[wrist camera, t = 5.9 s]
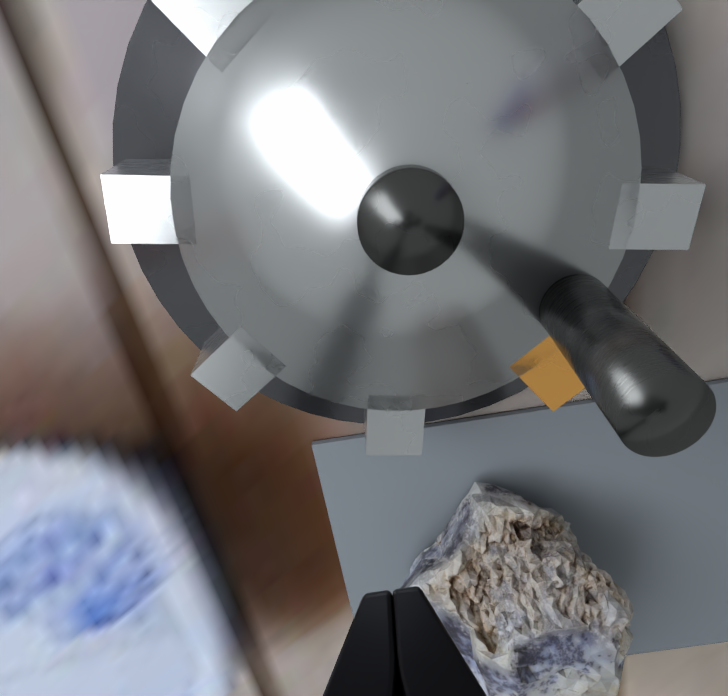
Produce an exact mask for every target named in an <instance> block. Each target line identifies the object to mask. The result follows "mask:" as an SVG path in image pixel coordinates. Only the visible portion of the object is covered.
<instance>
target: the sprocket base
mask: <svg viewBox="0 0 728 696" xmlns="http://www.w3.org/2000/svg"><path fill="white" fill-rule="evenodd" d="M205 58H206V56H205V55H204V54H203V53H202V52H201V51H200V50H199V49H198V48H197V47H196V46H195V45H194V44H193V43H192V42H191V41H190V40H189V39H188V38H187V37H186V36H185V35H184V34H183V33H182V32H181V31H180V30H179V28H178V27H177V26H176V25H175V24H174V23H173V22H172V21H171V20H170V19H169V18H168V17H167V16H166V15H165V14H164V13H163V12H162V11H161V10H160V9H159V8H158V7H157V6H156V5H155V4H154V3H153V2H152V1H151V0H147V2H146V4H145V6H144V8H143V11H142V13H141V15H140V18H139V20H138V23H137V25H136V27H135V30H134V32H133V35H132V37H131V39H130V42H129V44H128V48H127V52H126V55H125V59H124V63H123V67H122V71H121V74H120V78H119V82H118V87H117V95H116V104H115V112H114V120H113V166H116V165H117V164H119V163H121V162H122V161H124V160H126V159H172V152H173V145H174V138H175V132H176V129H177V125H178V122H179V118H180V115H181V111H182V107H183V104H184V101H185V99H186V96H187V94H188V92H189V89H190V87H191V85H192V83H193V80H194V78H195V76H196V73H197V71H198V69H199V68H200V66H201V64H202V63H203V61H204V60H205ZM619 67H620V69H621V71H622V73H623V75H624V77H625V80H626V83H627V86H628V89H629V92H630V95H631V98H632V101H633V104H634V108H635V113H636V119H637V124H638V129H639V134H640V147H641V167H650V168H668V169H671V170H673V171H675V172H677V165H678V158H679V150H680V107H681V106H680V98H679V90H678V82H677V74H676V66H675V63H674V59H673V55H672V51H671V48H670V44H669V40H668V37H667V33H666V29H665V26H664V27H663V28H662V29H661V30H659V31H658V32H657V33H656V34H655V35H654V36H653V37H652V38H651V39H649V40H648V41H647V42H646V43H645V44H644V45H643V46H642V47H641V48H639V49H638V50H637V51H636V52H635V53H634V54H633V55H632V56H631V57H629V58H628V59H627V60H626V61H625V62H624V63H623V64H622V65H621V66H619ZM357 229H358V236H359V240H360V243H361V245H362V247H363V249H364V251H365V253H366V254H367V255H368V257H369V258H370V259H371V260H372V261H373V262H374V263H375V264H377V265H378V266H379V267H381V268H383V269H384V270H386V271H389V272H391V273H395V274H399V275H418V274H423V273H426V272H429V271H431V270H433V269H435V268H437V267H439V266H440V265H442V264H443V263H444V262H445V261H446V260H448V259H449V257H450V256H451V255H452V254H453V253H454V251H455V250H456V248H457V247H458V245H459V243H460V240H461V238H462V234H463V230H464V210H463V206H462V203H461V201H460V198H459V196H458V195H457V193H456V192H455V190H454V189H453V187H452V186H451V184H450V183H449V182H448V181H447V180H446V179H445V178H444V177H443V176H442V175H441V174H439V173H438V172H436V171H434V170H432V169H430V168H428V167H424V166H420V165H400V166H396V167H393V168H390V169H388V170H386V171H384V172H382V173H381V174H379V175H378V176H377V177H376V178H374V179H373V180H372V181H371V182H370V184H369V185H368V186H367V187H366V189H365V190H364V192H363V194H362V196H361V198H360V201H359V204H358V209H357ZM131 245H132V247H133V250H134V252H135V255H136V257H137V259H138V262H139V264H140V267H141V269H142V271H143V273H144V275H145V276H146V278H147V280H148V282H149V283H150V285H151V287H152V289H153V290H154V292H155V294H156V296H157V297H158V299H159V301H160V302H161V304H162V305H163V306H164V308H165V309H166V310H167V312H168V313H169V314H170V316H171V317H172V318H173V320H174V321H175V322H176V324H177V325H178V326H179V328H180V329H181V330H182V331H183V332H184V333H185V334H186V335H187V336H188V337H189V338H190V339H191V340H192V341H193V342H194V344H195V345H196V346H197V347H198V348H199V349H200V350H201V349H202V347H203V345H204V342H205V341H206V340H207V339H208V338H209V337H210V336H211V335H212V334H213V333H214V332H215V331H216V330H217V329H218V328H219V327H220V326H219V325H218V323H217V322H216V321H215V319H214V318H213V317H212V315H211V314H210V313H209V311H208V310H207V308H206V306H205V305H204V303H203V301H202V299H201V298H200V296H199V294H198V292H197V291H196V289H195V287H194V285H193V283H192V281H191V278H190V276H189V273H188V271H187V269H186V266H185V264H184V261H183V259H182V256H181V252H180V248H179V244H131ZM652 252H653V250H637V249H626V251H625V254H624V256H623V259H622V261H621V263H620V265H619V267H618V269H617V271H616V273H615V275H614V277H613V279H612V282H611V284H610V285H609V287H608V289H609V290H610V291H611V292H612V293H613V294H614V295H615V296H616V297H617V298H618V299H620V300H621V301H622V302H623V301H624V299H625V298H626V296H627V295H628V293H629V292H630V291H631V289H632V288H633V286H634V285H635V283H636V282H637V280H638V278H639V276H640V274H641V272H642V271H643V269H644V267H645V265H646V263H647V261H648V259H649V257H650V256H651V254H652ZM527 387H528V386H527V385H526V384H525V382H524V381H523V380H522V379H521V378H520V377H518V378H517V379H515V380H513V381H512V382H509V383H507V384H505V385H503V386H501V387H499V388H497V389H495V390H493V391H491V392H489V393H486V394H483V395H480V396H477V397H475V398H472V399H469V400H466V401H463V402H459V403H454V404H450V405H446V406H442V407H437V408H429V409H425V420H424V422H430V421H435V420H439V419H444V418H449V417H454V416H459V415H462V414H465V413H468V412H471V411H474V410H478V409H481V408H484V407H487V406H490V405H492V404H494V403H496V402H499V401H501V400H503V399H505V398H508V397H510V396H512V395H514V394H516V393H518V392H520V391H522V390H524V389H525V388H527ZM258 392H260V393H262V394H264V395H266V396H268V397H270V398H272V399H274V400H276V401H278V402H280V403H283V404H286V405H288V406H291V407H294V408H297V409H299V410H302V411H305V412H308V413H311V414H315V415H319V416H323V417H328V418H332V419H336V420H341V421H349V422H357V423H364V408H357V407H353V406H348V405H343V404H339V403H334V402H332V401H329V400H326V399H323V398H320V397H317V396H314V395H311V394H309V393H307V392H304V391H302V390H300V389H298V388H296V387H294V386H292V385H290V384H288V383H286V382H284V381H283V380H281V379H279V378H278V377H276V376H275V377H274V378H273V379H272V380H271V381H269V382H268V383H267V384H266V385H265V386H264V387H263V388H262V389H261V390H259V391H258Z"/></svg>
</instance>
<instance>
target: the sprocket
mask: <svg viewBox="0 0 728 696" xmlns="http://www.w3.org/2000/svg"><path fill="white" fill-rule="evenodd" d="M151 1H152V2H153V3H154V4H155V5H156V6H157V7H158V8H159V9H160V10H161V11H162V12H163V13H164V14H165V15H166V16H167V17H168V18H169V19H170V20H171V21H172V22H173V23H174V24H175V25H176V26H177V27H178V28H179V30H180V31H181V32H182V33H183V34H184V35H185V36H186V37H187V38H188V39H189V40H190V41H191V42H192V43H193V44H194V45H195V46H196V47H197V48H198V49H199V50H200V51H201V52H202V53H203V54H204V55H205V56H206V58H205V60H204V61H203V63H202V64H201V66H200V68H199V69H198V71H197V73H196V76H195V78H194V80H193V83H192V85H191V87H190V89H189V92H188V94H187V96H186V99H185V101H184V104H183V107H182V111H181V115H180V118H179V122H178V125H177V129H176V132H175V138H174V145H173V152H172V159H126V160H124V161H122V162H121V163H119V164H117V165H116V166H114V167H112V168H111V169H109V170H107V171H106V172H104V173H102V174H101V175H100V176H101V182H102V188H103V194H104V200H105V206H106V213H107V219H108V225H109V231H110V237H111V243H130V244H179V248H180V252H181V256H182V259H183V261H184V264H185V266H186V269H187V271H188V273H189V276H190V278H191V281H192V283H193V285H194V287H195V289H196V291H197V292H198V294H199V296H200V298H201V299H202V301H203V303H204V305H205V306H206V308H207V310H208V311H209V313H210V314H211V315H212V317H213V318H214V319H215V321H216V322H217V323H218V325H219V326H220V327H219V328H218V329H217V330H216V331H215V332H214V333H213V334H212V335H211V336H210V337H209V338H208V339H207V340H206V341H205V342H204V345H203V347H202V349H201V352H200V354H199V356H198V359H197V361H196V363H195V365H194V368H193V370H192V372H191V376H192V377H193V378H195V379H196V380H197V381H199V382H200V383H201V384H202V385H204V386H205V387H206V388H207V389H209V390H210V391H211V392H213V393H214V394H215V395H216V396H218V397H219V398H220V399H221V400H223V401H224V402H225V403H227V404H228V405H229V406H230V407H232V408H233V409H234V410H235V411H237V410H238V409H239V408H241V407H242V406H243V405H244V404H245V403H246V402H247V401H248V400H249V399H251V398H252V397H253V396H254V395H255V394H256V393H257V392H258V391H259V390H261V389H262V388H263V387H264V386H265V385H266V384H267V383H268V382H269V381H271V380H272V379H273V378H274V377H275V376H276V377H278V378H279V379H281V380H283V381H284V382H286V383H288V384H290V385H292V386H294V387H296V388H298V389H300V390H302V391H304V392H307V393H309V394H311V395H314V396H317V397H320V398H323V399H326V400H329V401H332V402H334V403H339V404H343V405H348V406H353V407H357V408H364V429H365V446H366V455H422V445H423V432H424V420H425V409H429V408H437V407H442V406H446V405H450V404H454V403H459V402H463V401H466V400H469V399H472V398H475V397H477V396H480V395H483V394H486V393H489V392H491V391H493V390H495V389H497V388H499V387H501V386H503V385H505V384H507V383H509V382H512V381H513V380H515V379H517V378H518V377H520V378H521V379H522V380H523V381H524V382H525V384H526V385H527V386H528V387H529V388H530V389H531V390H532V391H533V392H534V393H535V394H536V395H537V396H538V397H539V398H540V399H541V400H542V401H543V402H544V403H545V404H546V405H547V406H548V407H549V408H550V409H551V410H552V411H555V410H556V409H557V408H559V407H560V406H561V405H563V404H564V403H566V402H567V401H568V400H570V399H571V398H572V397H574V396H575V395H576V394H578V393H579V392H580V391H582V390H583V389H585V388H586V390H587V391H588V393H589V394H590V396H591V397H592V398H593V400H594V401H595V403H596V404H597V406H598V407H599V409H600V410H601V412H602V413H603V415H604V416H605V418H606V419H607V420H608V422H609V423H610V425H611V426H612V428H613V429H614V431H615V432H616V434H617V435H618V437H619V438H620V440H621V441H622V442H623V444H624V445H625V446H626V447H627V448H628V449H630V450H631V451H633V452H635V453H637V454H639V455H643V456H648V457H662V456H668V455H672V454H675V453H678V452H680V451H683V450H685V449H686V448H688V447H690V446H691V445H693V444H694V443H696V442H697V441H698V440H699V439H700V438H701V437H702V436H703V435H704V434H705V433H706V432H707V430H708V429H709V427H710V426H711V424H712V422H713V420H714V417H715V413H716V399H715V396H714V393H713V391H712V390H711V388H710V387H709V386H708V385H707V384H706V383H705V382H704V381H703V380H702V379H701V378H700V377H699V376H698V375H697V374H696V373H695V372H694V371H693V370H692V369H691V368H690V367H689V366H688V365H687V364H686V363H685V362H684V361H683V360H682V359H680V358H679V357H678V356H677V355H676V354H675V353H674V352H673V351H672V350H671V349H670V348H669V347H668V346H667V345H666V344H665V343H664V342H663V341H662V340H661V339H660V338H659V337H658V336H657V335H656V334H655V333H654V332H653V331H652V330H651V329H649V328H648V327H647V326H646V325H645V324H644V323H643V322H642V321H641V320H640V319H639V318H638V317H637V316H636V315H635V314H634V313H633V312H632V311H631V310H630V309H629V308H628V307H627V306H626V305H625V304H624V303H623V302H622V301H621V300H620V299H618V298H617V297H616V296H615V295H614V294H613V293H612V292H611V291H610V290H609V289H608V287H609V285H610V284H611V282H612V279H613V277H614V275H615V273H616V271H617V269H618V267H619V265H620V263H621V261H622V259H623V256H624V254H625V251H626V249H637V250H689V246H690V242H691V239H692V235H693V231H694V228H695V224H696V220H697V216H698V213H699V209H700V205H701V201H702V198H703V194H704V190H705V187H706V184H704V183H701V182H699V181H696V180H694V179H692V178H689V177H687V176H685V175H682V174H680V173H678V172H675V171H673V170H671V169H668V168H650V167H641V147H640V134H639V129H638V124H637V119H636V113H635V108H634V104H633V101H632V98H631V95H630V92H629V89H628V86H627V83H626V80H625V77H624V75H623V73H622V71H621V69H620V67H619V66H621V65H622V64H623V63H624V62H625V61H626V60H627V59H628V58H629V57H631V56H632V55H633V54H634V53H635V52H636V51H637V50H638V49H639V48H641V47H642V46H643V45H644V44H645V43H646V42H647V41H648V40H649V39H651V38H652V37H653V36H654V35H655V34H656V33H657V32H658V31H659V30H661V29H662V28H663V27H664V26H665V25H666V24H667V23H668V22H669V21H671V20H672V19H673V18H674V17H675V16H676V15H677V14H678V13H679V12H681V11H682V10H683V9H682V7H681V5H680V4H679V2H678V1H677V0H151ZM400 165H420V166H424V167H428V168H430V169H432V170H434V171H436V172H438V173H439V174H441V175H442V176H443V177H444V178H445V179H446V180H447V181H448V182H449V183H450V184H451V186H452V187H453V189H454V190H455V192H456V193H457V195H458V196H459V198H460V201H461V203H462V206H463V210H464V230H463V234H462V238H461V240H460V243H459V245H458V247H457V248H456V250H455V251H454V253H453V254H452V255H451V256H450V257H449V259H448V260H446V261H445V262H444V263H443V264H442V265H440V266H439V267H437V268H435V269H433V270H431V271H429V272H426V273H423V274H418V275H399V274H395V273H391V272H389V271H386V270H384V269H383V268H381V267H379V266H378V265H377V264H375V263H374V262H373V261H372V260H371V259H370V258H369V257H368V255H367V254H366V253H365V251H364V249H363V247H362V245H361V243H360V240H359V236H358V229H357V209H358V204H359V201H360V198H361V196H362V194H363V192H364V190H365V189H366V187H367V186H368V185H369V184H370V182H371V181H372V180H373V179H374V178H376V177H377V176H378V175H379V174H381V173H382V172H384V171H386V170H388V169H390V168H393V167H396V166H400Z"/></svg>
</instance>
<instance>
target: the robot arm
mask: <svg viewBox="0 0 728 696" xmlns="http://www.w3.org/2000/svg"><path fill="white" fill-rule="evenodd" d="M323 696H487V695H486V694H485V692H484V690H483V689H482V687H481V685H480V684H479V682H478V680H477V679H476V677H475V676H474V674H473V672H472V671H471V669H470V667H469V666H468V664H467V663H466V661H465V659H464V658H463V656H462V654H461V653H460V651H459V649H458V648H457V646H456V645H455V643H454V641H453V640H452V638H451V636H450V635H449V633H448V631H447V630H446V628H445V627H444V625H443V623H442V622H441V620H440V618H439V617H438V615H437V613H436V612H435V610H434V609H433V607H432V605H431V604H430V602H429V600H428V599H427V597H426V595H425V594H424V592H423V591H422V589H421V588H420V587H418V586H413V587H406V588H399V589H395V590H394V591H393V595H392V593H391V592H390V591H388V590H385V591H377V592H370V593H366V594H365V595H364V596H363V598H362V600H361V602H360V604H359V607H358V609H357V612H356V614H355V617H354V619H353V622H352V624H351V627H350V629H349V632H348V634H347V637H346V639H345V642H344V644H343V647H342V649H341V652H340V654H339V657H338V659H337V662H336V664H335V667H334V669H333V672H332V674H331V677H330V679H329V682H328V684H327V687H326V689H325V692H324V694H323Z"/></svg>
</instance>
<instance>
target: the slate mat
mask: <svg viewBox="0 0 728 696" xmlns="http://www.w3.org/2000/svg"><path fill="white" fill-rule="evenodd" d="M705 383H706V384H707V385H708V386H709V387H710V388H711V390H712V391H713V393H714V396H715V399H716V413H715V417H714V420H713V422H712V424H711V426H710V427H709V429H708V430H707V432H706V433H705V434H704V435H703V436H702V437H701V438H700V439H699V440H698V441H697V442H696V443H694V444H693V445H691V446H690V447H688V448H686V449H685V450H683V451H680V452H678V453H675V454H672V455H668V456H662V457H648V456H643V455H639V454H637V453H635V452H633V451H631V450H630V449H628V448H627V447H626V446H625V445H624V444H623V442H622V441H621V440H620V438H619V437H618V435H617V434H616V432H615V431H614V429H613V428H612V426H611V425H610V423H609V422H608V420H607V419H606V418H605V416H604V415H603V413H602V412H601V410H600V409H599V407H598V406H597V404H596V403H595V401H594V400H593V399H589V400H583V401H576V402H569V403H564V404H563V405H561V406H560V407H559V408H557V409H556V410H555V411H552V410H551V409H550V408H549V407H548V406H543V407H537V408H530V409H523V410H517V411H510V412H504V413H497V414H490V415H484V416H477V417H471V418H464V419H457V420H451V421H444V422H438V423H431V424H424V432H423V445H422V455H366V446H365V434H359V435H352V436H345V437H339V438H332V439H326V440H319V441H312V449H313V453H314V457H315V461H316V465H317V469H318V473H319V477H320V482H321V486H322V490H323V494H324V498H325V502H326V506H327V510H328V515H329V519H330V523H331V527H332V531H333V535H334V539H335V543H336V548H337V552H338V556H339V560H340V564H341V568H342V572H343V576H344V581H345V585H346V589H347V593H348V597H349V601H350V605H351V609H352V614H353V618H354V617H355V614H356V612H357V609H358V607H359V604H360V602H361V600H362V598H363V596H364V595H365V594H366V593H370V592H377V591H385V590H388V591H390V592H391V593H392V595H393V591H394V590H395V589H399V588H400V587H401V586H402V584H403V583H404V581H405V580H406V579H407V577H408V576H409V575H410V568H411V566H412V564H413V562H414V561H415V559H416V558H417V557H418V555H419V554H420V553H421V552H422V551H423V550H425V549H427V548H429V547H431V546H432V545H433V544H434V543H435V541H436V539H437V537H438V536H439V535H440V534H442V532H443V530H444V529H445V527H446V526H447V524H448V523H449V521H450V519H451V518H452V516H453V515H454V513H455V511H456V510H457V508H458V506H459V505H460V503H461V501H462V500H463V499H464V498H465V497H466V495H467V494H468V493H469V491H470V489H471V488H472V486H473V484H474V482H481V483H490V484H493V485H496V486H499V487H502V488H505V489H507V490H509V491H512V492H514V493H516V494H518V495H520V496H521V497H523V498H525V499H527V500H529V501H531V502H533V503H534V504H535V505H537V506H538V507H541V508H552V509H553V510H554V511H556V512H557V513H559V514H561V515H562V516H563V519H564V521H566V522H569V523H571V524H570V529H571V532H572V533H573V534H574V535H575V536H576V538H577V544H578V545H579V549H580V551H581V552H584V553H585V554H587V555H588V556H589V557H590V558H591V560H592V563H593V564H595V565H596V567H597V568H599V569H602V570H605V571H606V572H607V573H608V574H609V575H610V576H611V578H612V580H613V582H614V583H616V584H617V585H618V586H619V587H621V588H622V589H623V590H625V592H626V594H627V596H628V598H629V600H630V601H631V603H632V604H633V609H634V613H633V616H632V619H631V620H630V624H631V626H628V627H629V630H630V631H631V633H632V635H633V640H632V642H631V644H630V648H629V649H628V651H627V653H626V655H631V654H639V653H646V652H653V651H661V650H668V649H676V648H683V647H691V646H698V645H706V644H713V643H721V642H728V379H721V380H714V381H708V382H705Z"/></svg>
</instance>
